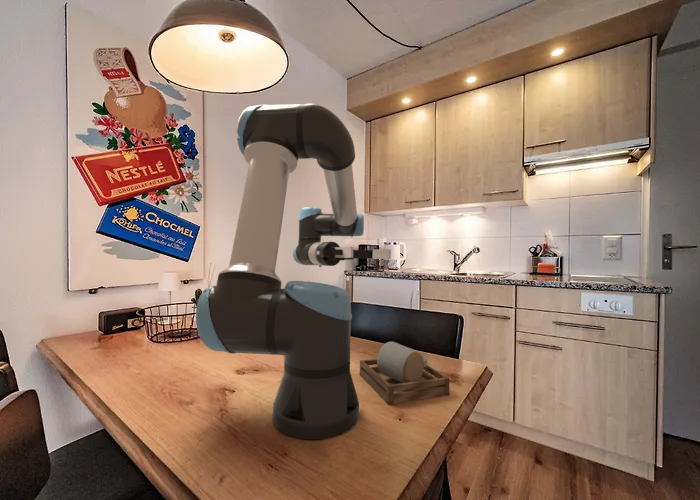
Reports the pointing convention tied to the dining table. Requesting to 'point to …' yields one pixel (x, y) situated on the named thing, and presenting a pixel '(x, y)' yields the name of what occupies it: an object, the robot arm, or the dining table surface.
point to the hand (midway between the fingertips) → (372, 253)
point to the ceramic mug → (400, 362)
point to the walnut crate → (404, 384)
